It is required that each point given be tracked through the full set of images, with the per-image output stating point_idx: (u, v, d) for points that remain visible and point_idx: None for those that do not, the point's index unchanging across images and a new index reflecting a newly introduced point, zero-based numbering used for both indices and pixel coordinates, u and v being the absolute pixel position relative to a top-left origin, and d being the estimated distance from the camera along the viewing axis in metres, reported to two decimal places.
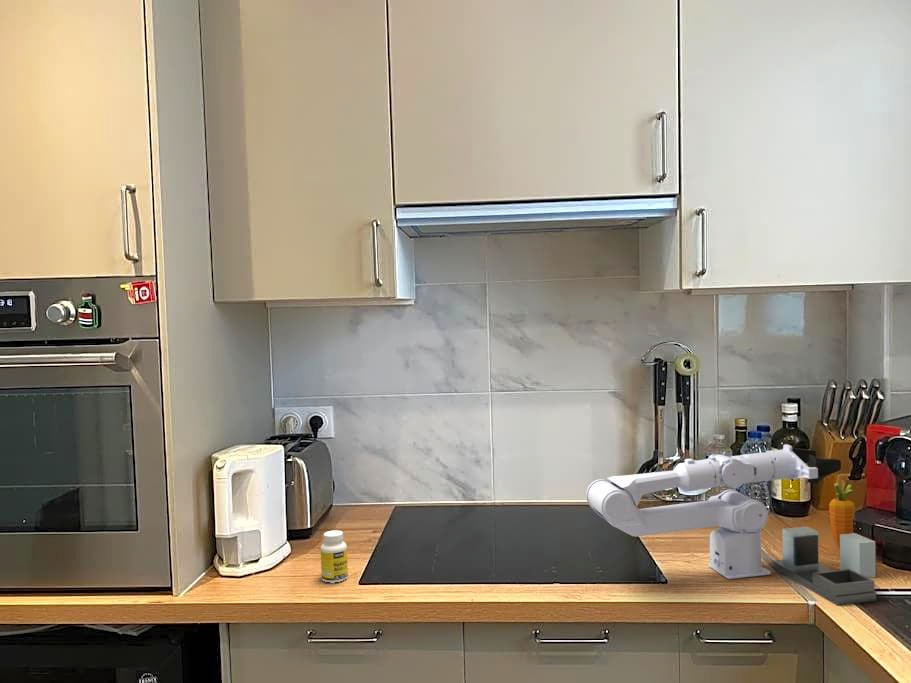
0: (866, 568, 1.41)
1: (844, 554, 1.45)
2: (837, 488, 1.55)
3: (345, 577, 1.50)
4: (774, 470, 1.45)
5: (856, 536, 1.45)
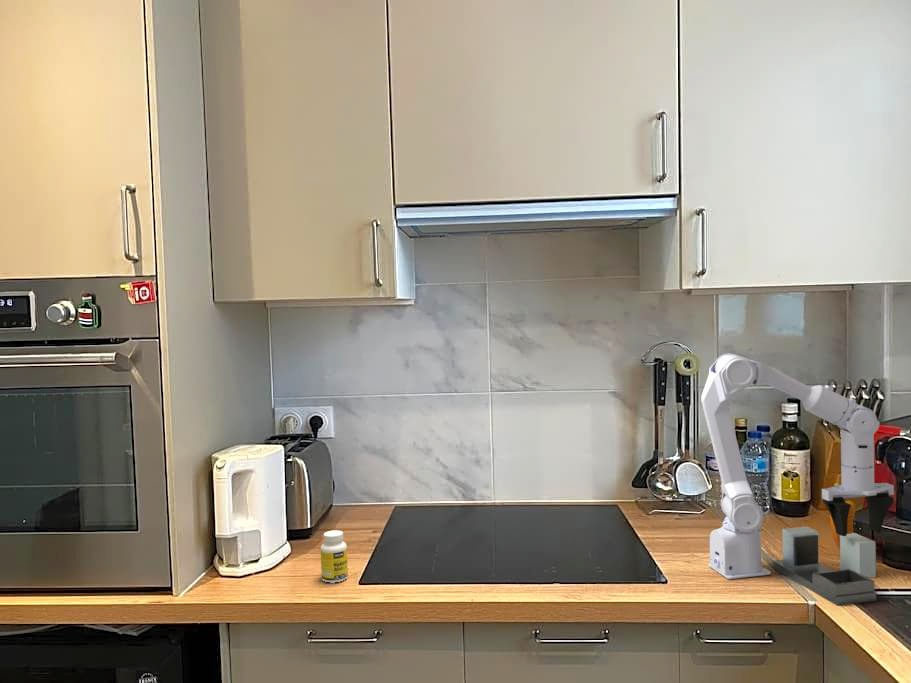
0: (866, 568, 1.41)
1: (844, 554, 1.45)
2: None
3: (345, 577, 1.50)
4: (844, 465, 1.43)
5: (856, 536, 1.45)
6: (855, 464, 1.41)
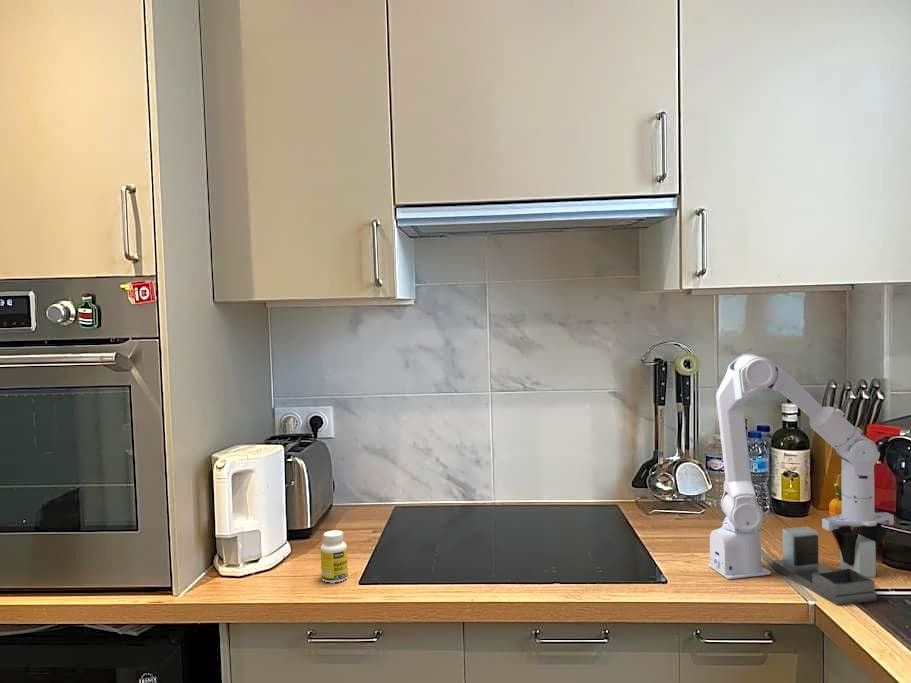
0: (866, 568, 1.41)
1: None
2: (837, 488, 1.55)
3: (345, 577, 1.50)
4: (844, 495, 1.43)
5: None
6: (855, 494, 1.41)
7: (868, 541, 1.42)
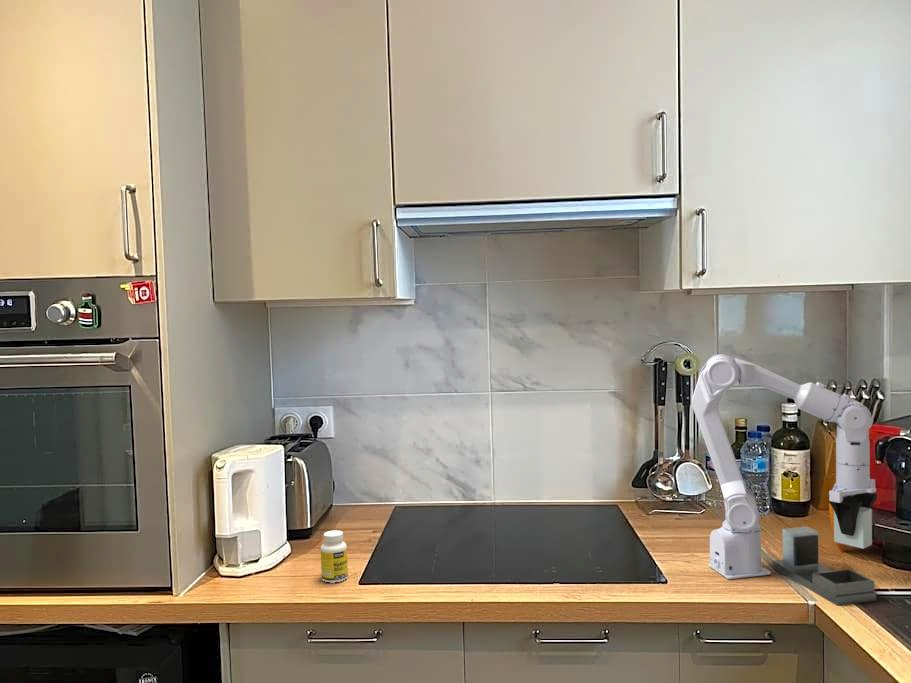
0: (867, 537, 1.38)
1: None
2: None
3: (345, 577, 1.50)
4: (845, 464, 1.38)
5: None
6: (847, 461, 1.38)
7: (866, 509, 1.39)
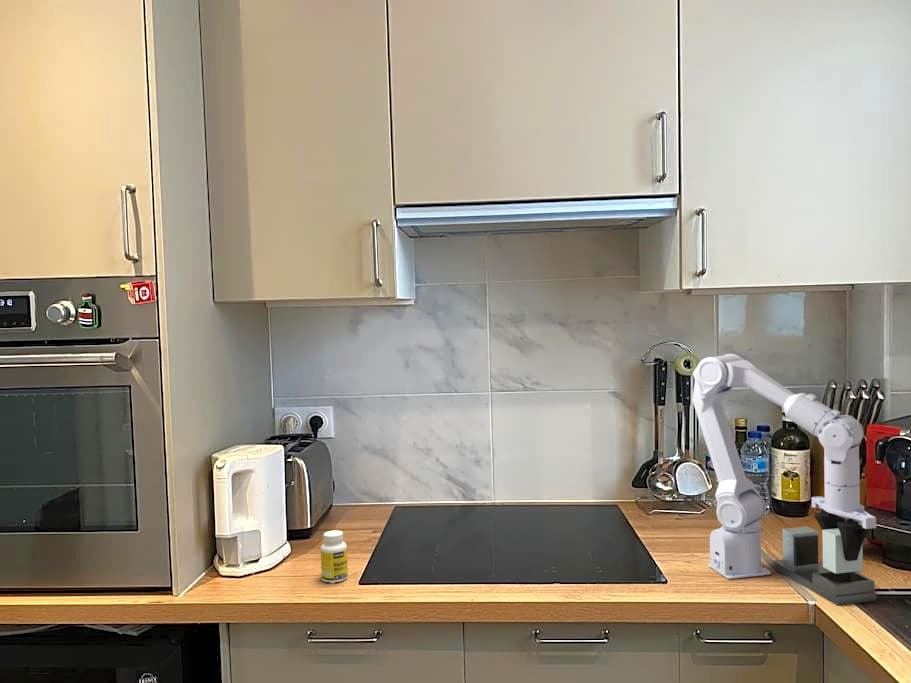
0: None
1: (841, 554, 1.31)
2: None
3: (345, 577, 1.50)
4: (852, 486, 1.30)
5: (833, 530, 1.33)
6: (829, 480, 1.32)
7: None
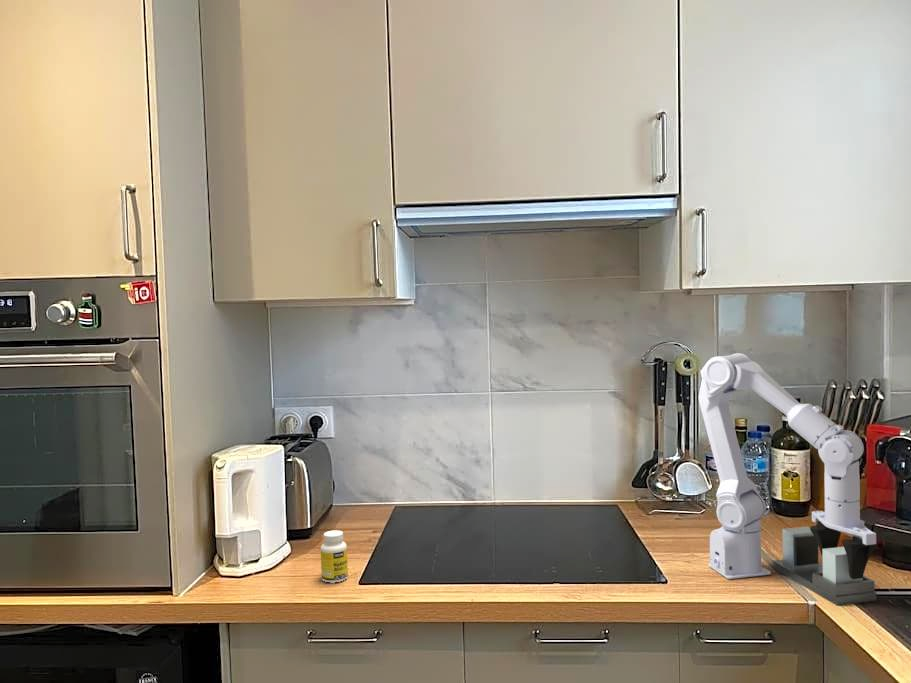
0: None
1: (841, 574, 1.31)
2: None
3: (345, 577, 1.50)
4: (852, 501, 1.30)
5: (834, 550, 1.34)
6: (829, 496, 1.32)
7: None
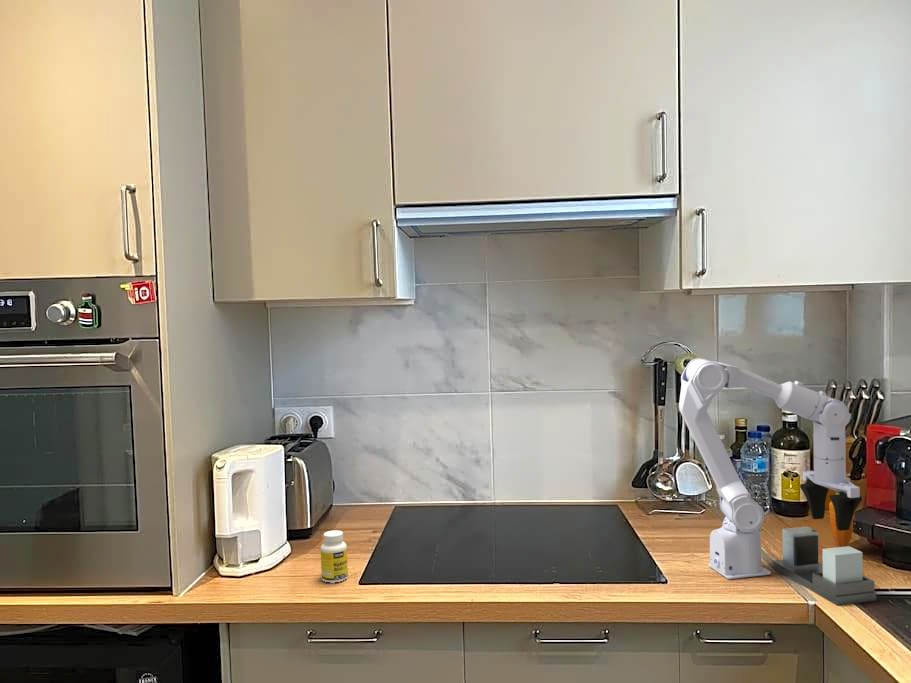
0: None
1: (841, 574, 1.31)
2: None
3: (345, 577, 1.50)
4: (838, 459, 1.42)
5: (834, 550, 1.34)
6: (827, 456, 1.42)
7: (851, 548, 1.34)
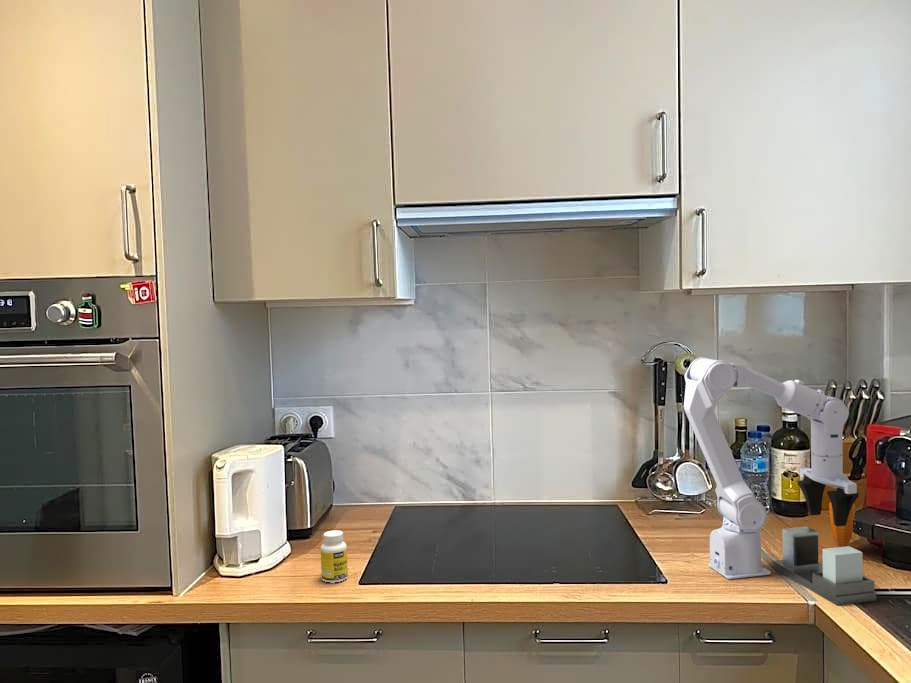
0: None
1: (841, 574, 1.31)
2: None
3: (345, 577, 1.50)
4: (836, 456, 1.45)
5: (834, 550, 1.34)
6: (827, 453, 1.45)
7: (851, 548, 1.34)
